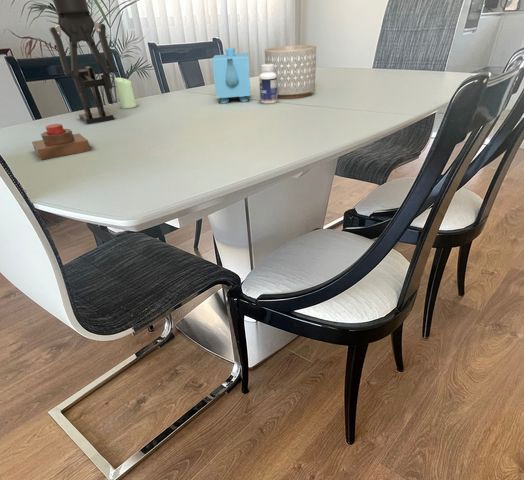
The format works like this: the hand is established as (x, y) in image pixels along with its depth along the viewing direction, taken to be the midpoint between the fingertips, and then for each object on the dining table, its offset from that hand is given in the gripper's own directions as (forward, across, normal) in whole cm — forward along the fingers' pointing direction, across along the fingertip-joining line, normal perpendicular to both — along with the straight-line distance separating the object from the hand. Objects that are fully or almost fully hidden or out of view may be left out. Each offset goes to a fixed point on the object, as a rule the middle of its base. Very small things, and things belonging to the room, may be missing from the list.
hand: (99, 104), depth 108 cm
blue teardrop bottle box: (+5, +44, +2) cm, 44 cm away
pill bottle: (+5, +50, -10) cm, 51 cm away
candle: (+5, +14, +22) cm, 26 cm away
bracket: (+5, 0, +10) cm, 11 cm away
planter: (+5, +62, -5) cm, 62 cm away
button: (+1, -16, -22) cm, 27 cm away
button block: (+5, -16, -22) cm, 28 cm away
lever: (-4, 0, +5) cm, 7 cm away
